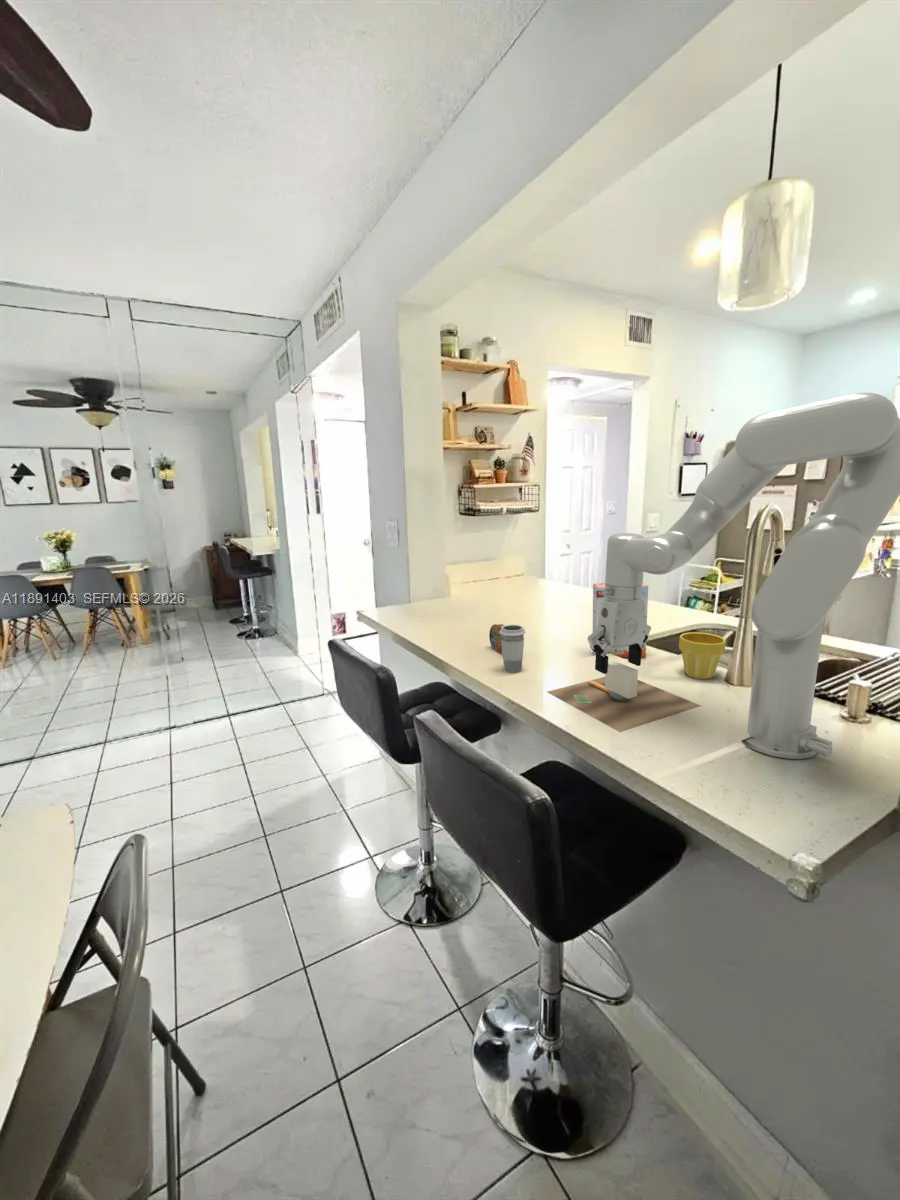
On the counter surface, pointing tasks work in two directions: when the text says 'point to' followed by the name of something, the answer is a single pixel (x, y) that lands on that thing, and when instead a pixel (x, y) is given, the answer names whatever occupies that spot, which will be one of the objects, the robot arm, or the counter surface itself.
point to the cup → (512, 647)
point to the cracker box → (597, 603)
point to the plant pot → (701, 653)
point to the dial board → (623, 704)
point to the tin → (496, 637)
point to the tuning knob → (619, 681)
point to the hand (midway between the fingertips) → (617, 667)
